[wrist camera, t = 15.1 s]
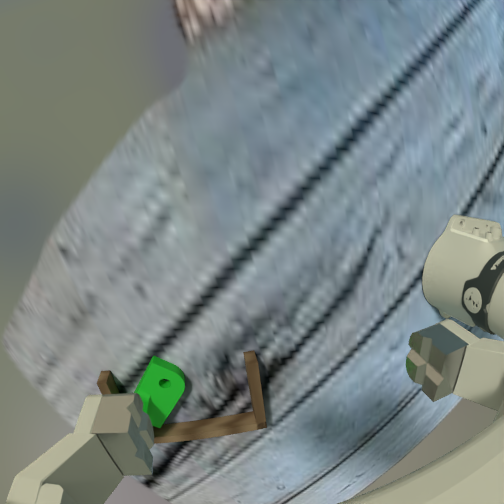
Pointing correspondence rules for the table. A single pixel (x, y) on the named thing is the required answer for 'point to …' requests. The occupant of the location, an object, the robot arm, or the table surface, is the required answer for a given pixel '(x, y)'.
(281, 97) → the table surface
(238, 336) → the table surface
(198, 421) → the walnut bay
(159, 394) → the mechanical part
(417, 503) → the robot arm
